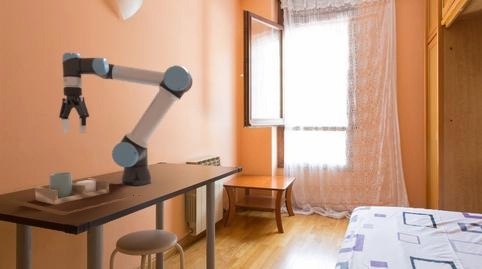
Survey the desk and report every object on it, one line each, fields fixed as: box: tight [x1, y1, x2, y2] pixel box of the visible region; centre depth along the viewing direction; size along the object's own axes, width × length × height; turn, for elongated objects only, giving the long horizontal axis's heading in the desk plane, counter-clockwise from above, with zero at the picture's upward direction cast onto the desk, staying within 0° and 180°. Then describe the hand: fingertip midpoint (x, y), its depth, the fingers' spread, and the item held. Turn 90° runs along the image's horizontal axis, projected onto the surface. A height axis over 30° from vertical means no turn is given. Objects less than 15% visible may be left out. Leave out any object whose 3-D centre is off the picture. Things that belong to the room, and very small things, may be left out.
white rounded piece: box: [75, 179, 96, 193], centre depth 136 cm, size 8×8×5 cm
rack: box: [34, 177, 110, 205], centre depth 131 cm, size 23×14×6 cm, turn 148°
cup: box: [48, 171, 73, 199], centre depth 126 cm, size 8×8×10 cm
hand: (74, 133), depth 149 cm, fingers open, 13 cm apart
